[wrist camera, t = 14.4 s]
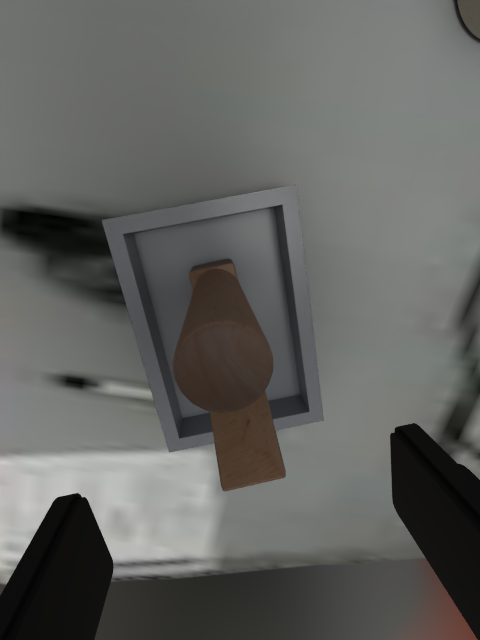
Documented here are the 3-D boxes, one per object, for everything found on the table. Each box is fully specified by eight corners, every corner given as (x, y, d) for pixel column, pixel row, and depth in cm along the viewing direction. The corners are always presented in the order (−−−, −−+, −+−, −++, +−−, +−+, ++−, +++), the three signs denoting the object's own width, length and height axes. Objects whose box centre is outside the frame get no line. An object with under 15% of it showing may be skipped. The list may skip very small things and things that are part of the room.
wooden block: (218, 376, 31) (225, 566, 13) (190, 266, 28) (154, 329, 10) (255, 367, 31) (310, 546, 13) (232, 257, 28) (264, 305, 10)
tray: (117, 221, 27) (101, 220, 23) (284, 190, 27) (296, 184, 23) (174, 426, 33) (169, 452, 29) (310, 398, 33) (323, 420, 29)
